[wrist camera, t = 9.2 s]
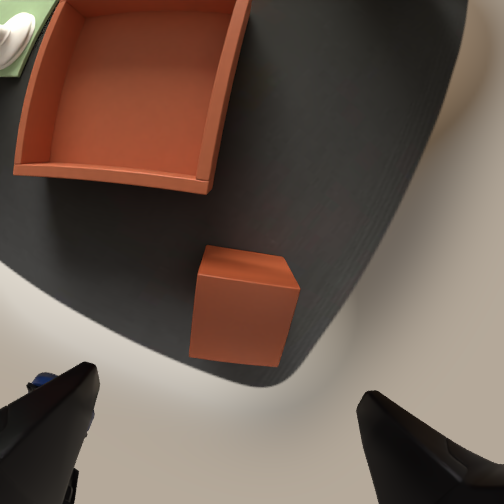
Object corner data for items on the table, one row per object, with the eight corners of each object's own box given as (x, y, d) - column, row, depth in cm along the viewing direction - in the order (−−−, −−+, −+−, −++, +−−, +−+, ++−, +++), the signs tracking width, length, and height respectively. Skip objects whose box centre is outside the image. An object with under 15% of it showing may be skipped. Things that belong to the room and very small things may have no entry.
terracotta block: (267, 322, 18) (278, 367, 13) (197, 313, 17) (188, 357, 13) (283, 256, 17) (301, 288, 12) (206, 244, 16) (197, 273, 12)
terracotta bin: (212, 189, 15) (206, 195, 12) (45, 171, 14) (12, 175, 11) (250, 12, 12) (254, -17, 9) (84, 15, 11) (62, -5, 7)
